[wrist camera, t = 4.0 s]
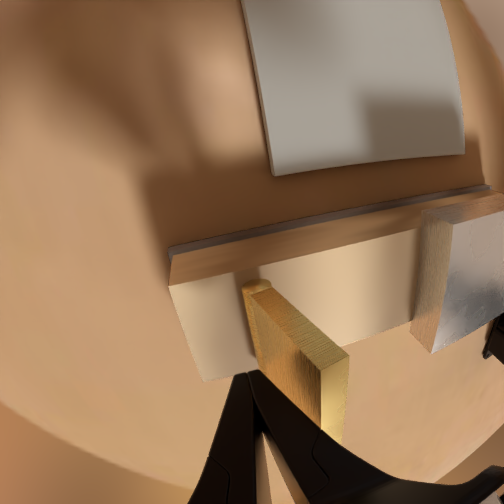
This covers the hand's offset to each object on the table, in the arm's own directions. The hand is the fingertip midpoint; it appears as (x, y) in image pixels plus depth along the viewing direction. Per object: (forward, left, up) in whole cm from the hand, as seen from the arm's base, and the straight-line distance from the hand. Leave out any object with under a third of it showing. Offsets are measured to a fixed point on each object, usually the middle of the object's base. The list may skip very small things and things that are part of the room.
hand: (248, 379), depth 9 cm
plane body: (-8, 0, -6) cm, 10 cm away
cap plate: (-12, 0, -3) cm, 12 cm away
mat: (-9, -10, -6) cm, 15 cm away
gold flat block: (-1, 0, -2) cm, 2 cm away
